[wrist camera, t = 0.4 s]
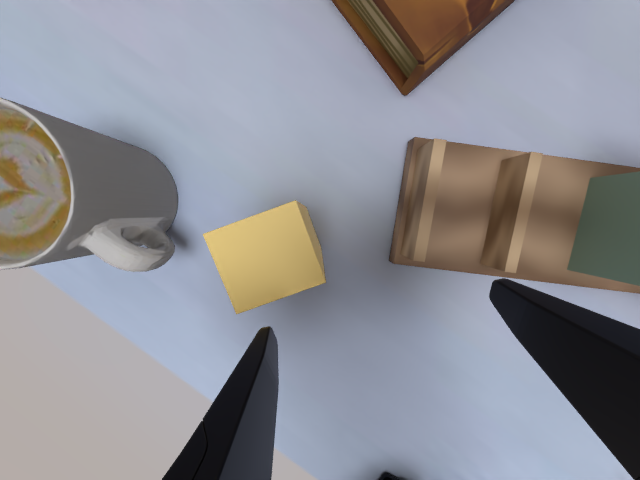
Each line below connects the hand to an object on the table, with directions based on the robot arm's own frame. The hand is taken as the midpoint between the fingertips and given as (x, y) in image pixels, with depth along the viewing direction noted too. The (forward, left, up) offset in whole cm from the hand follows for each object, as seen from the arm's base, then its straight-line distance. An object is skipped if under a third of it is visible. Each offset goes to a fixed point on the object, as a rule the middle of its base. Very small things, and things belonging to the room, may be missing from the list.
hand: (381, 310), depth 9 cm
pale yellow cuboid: (-1, +5, -15) cm, 16 cm away
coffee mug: (-7, +19, -15) cm, 26 cm away
